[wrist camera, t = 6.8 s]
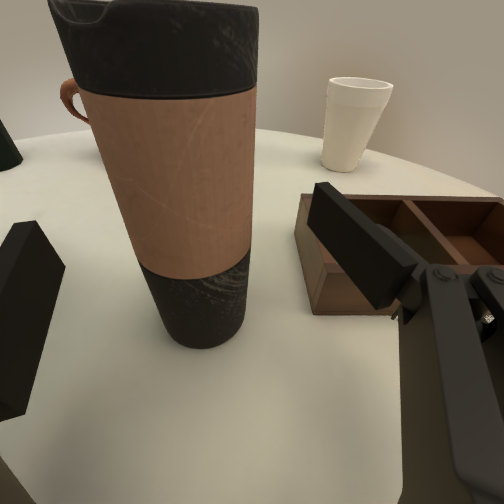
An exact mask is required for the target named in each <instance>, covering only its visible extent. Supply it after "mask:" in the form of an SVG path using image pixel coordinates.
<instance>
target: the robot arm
mask: <svg viewBox="0 0 504 504" xmlns="http://www.w3.org/2000/svg"><path fill="white" fill-rule="evenodd" d="M307 226H308V227H309V228H310V229H311V231H312V232H313V233H314V234H315V236H316V237H317V238H318V239H319V241H320V242H321V243H322V244H323V246H324V247H325V248H326V249H327V251H328V252H329V253H330V254H331V255H332V257H333V258H334V259H335V260H336V262H337V263H338V264H339V265H340V267H341V268H342V269H343V270H344V272H345V273H346V274H347V275H348V277H349V278H350V279H351V280H352V282H353V283H354V284H355V285H356V287H357V288H358V289H359V290H360V292H361V293H362V294H363V295H364V296H365V298H366V299H367V300H368V301H369V303H370V304H371V305H372V306H373V308H374V309H375V310H376V311H377V310H380V309H384V308H387V307H390V306H391V305H392V303H393V302H394V300H395V298H397V299H398V300H399V301H400V305H399V306H398V308H397V309H396V311H395V312H394V313H393V315H392V318H391V319H392V320H394V319H395V317H396V316H397V315H398V325H399V362H400V398H401V435H402V471H403V488H402V494H401V496H400V498H399V501H398V503H397V504H504V270H502V269H499V268H496V267H492V266H481V267H479V268H478V269H477V270H476V271H475V272H474V273H473V274H458V273H457V272H456V271H455V270H453V269H451V268H450V267H448V266H445V265H442V264H436V263H434V264H429V263H428V262H427V261H426V260H424V259H423V258H422V257H421V256H420V255H419V254H417V253H416V252H415V251H414V250H413V249H412V248H410V247H409V246H408V245H407V244H406V243H404V242H403V241H402V240H401V239H400V238H397V236H396V235H395V234H394V233H393V232H392V231H391V230H389V229H388V228H386V227H384V226H382V225H380V224H375V223H374V222H373V221H372V220H370V219H369V218H368V217H367V216H366V215H365V214H364V213H363V212H361V211H360V210H359V209H358V208H357V207H356V206H355V205H353V204H352V203H351V202H350V201H349V200H348V199H347V198H346V197H344V196H343V195H342V194H341V193H340V192H339V191H338V190H336V189H335V188H334V187H333V186H332V185H331V184H330V183H329V182H321V183H315V187H314V192H313V196H312V201H311V205H310V210H309V214H308V219H307ZM64 271H65V265H64V264H63V262H62V260H61V259H60V257H59V256H58V254H57V253H56V251H55V250H54V248H53V246H52V245H51V243H50V242H49V240H48V239H47V237H46V236H45V234H44V232H43V231H42V229H41V228H40V226H39V225H38V223H37V221H36V220H35V221H27V222H19V223H14V224H13V226H12V227H11V229H10V231H9V233H8V234H7V236H6V238H5V240H4V241H3V243H2V245H1V247H0V422H1V421H5V420H8V419H12V418H15V417H18V416H22V415H25V413H26V409H27V406H28V402H29V398H30V395H31V391H32V387H33V384H34V380H35V376H36V373H37V369H38V366H39V362H40V358H41V355H42V351H43V347H44V344H45V340H46V336H47V333H48V329H49V325H50V322H51V318H52V315H53V311H54V307H55V304H56V300H57V296H58V293H59V289H60V285H61V282H62V278H63V274H64ZM490 312H491V314H492V315H493V317H494V318H495V319H494V320H493V321H491V322H490V323H488V322H487V321H486V320H485V318H484V317H485V316H486V315H487V314H489V313H490ZM0 504H36V503H35V502H34V501H33V499H32V498H31V497H30V495H29V494H28V493H27V491H26V490H25V489H24V487H23V486H22V485H21V483H20V482H19V481H18V479H17V478H16V477H15V475H14V474H13V473H12V471H11V470H10V469H9V467H8V466H7V465H6V463H5V462H4V461H3V459H2V458H1V457H0Z"/></svg>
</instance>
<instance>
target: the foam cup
mask: <svg viewBox="0 0 504 504" xmlns="http://www.w3.org/2000/svg"><path fill="white" fill-rule="evenodd" d="M392 89H393V85H392V84H390V83H387V82H383V81H380V80H373V79H367V78H355V77H339V78H332V79H330V80H329V84H328V89H327V94H326V98H327V104H326V115H325V127H324V138H323V150H322V165H323V166H324V167H325V168H327V169H330V170H332V171H337V172H351V171H354V170H355V168H356V166H357V165H358V163H359V161H360V158H361V156H362V154H363V152H364V150H365V147H366V146H367V143H368V141H369V139H370V137H371V135H372V133H373V131H374V128H375V126H376V124H377V122H378V120H379V118H380V116H381V113H382V111H383V109H384V107H385V106H386V105H387V103H388V101H389V98H390V95H391V92H392Z"/></svg>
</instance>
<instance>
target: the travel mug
mask: <svg viewBox="0 0 504 504" xmlns="http://www.w3.org/2000/svg"><path fill="white" fill-rule="evenodd" d="M47 1H48V6H49V8H50V12H51V15H52V17H53V20H54V23H55V25H56V28H57V31H58V34H59V37H60V40H61V42H62V45H63V48H64V51H65V54H66V57H67V60H68V62H69V65H70V68H71V71H72V74H73V77H74V80H75V82H76V85H77V88H78V91H79V94H80V97H81V100H82V102H83V105H84V108H85V111H86V114H87V117H88V120H89V123H90V126H91V128H92V131H93V134H94V137H95V140H96V143H97V146H98V148H99V151H100V154H101V157H102V160H103V163H104V166H105V169H106V171H107V174H108V177H109V180H110V183H111V186H112V189H113V192H114V194H115V197H116V200H117V203H118V206H119V209H120V212H121V215H122V217H123V220H124V223H125V226H126V229H127V232H128V235H129V238H130V240H131V243H132V246H133V249H134V252H135V255H136V257H137V260H138V262H139V265H140V267H141V270H142V272H143V275H144V277H145V279H146V282H147V284H148V287H149V289H150V291H151V294H152V296H153V299H154V301H155V304H156V306H157V308H158V311H159V313H160V316H161V318H162V320H163V323H164V325H165V327H166V329H167V331H168V333H169V334H170V335H171V337H172V338H173V339H174V340H176V341H177V342H178V343H180V344H182V345H184V346H187V347H190V348H196V349H205V348H211V347H215V346H218V345H220V344H222V343H224V342H226V341H227V340H229V339H230V338H231V337H233V336H234V335H235V333H236V332H237V331H238V330H239V328H240V326H241V325H242V322H243V320H244V315H245V308H246V298H247V286H248V275H249V263H250V252H251V238H252V209H253V180H254V151H255V121H256V92H257V83H256V82H257V63H258V35H259V34H258V33H259V13H258V8H257V7H252V6H244V5H235V4H224V3H213V2H200V1H186V0H113V1H111V2H109V1H96V0H47Z"/></svg>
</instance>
